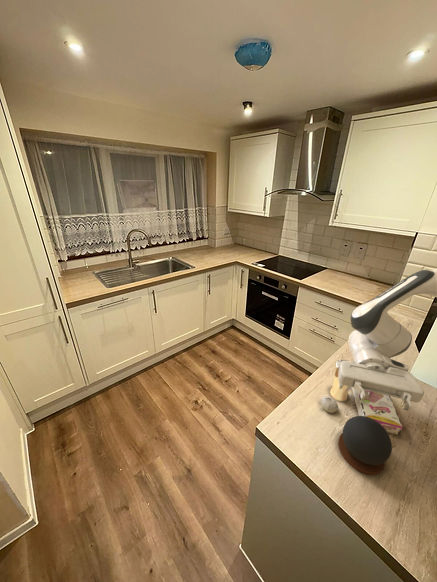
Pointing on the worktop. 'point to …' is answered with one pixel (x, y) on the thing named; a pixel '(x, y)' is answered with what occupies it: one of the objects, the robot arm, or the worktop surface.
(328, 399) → the garlic
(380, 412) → the candy bar box
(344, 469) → the worktop surface
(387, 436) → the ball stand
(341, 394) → the cream cylindrical can
